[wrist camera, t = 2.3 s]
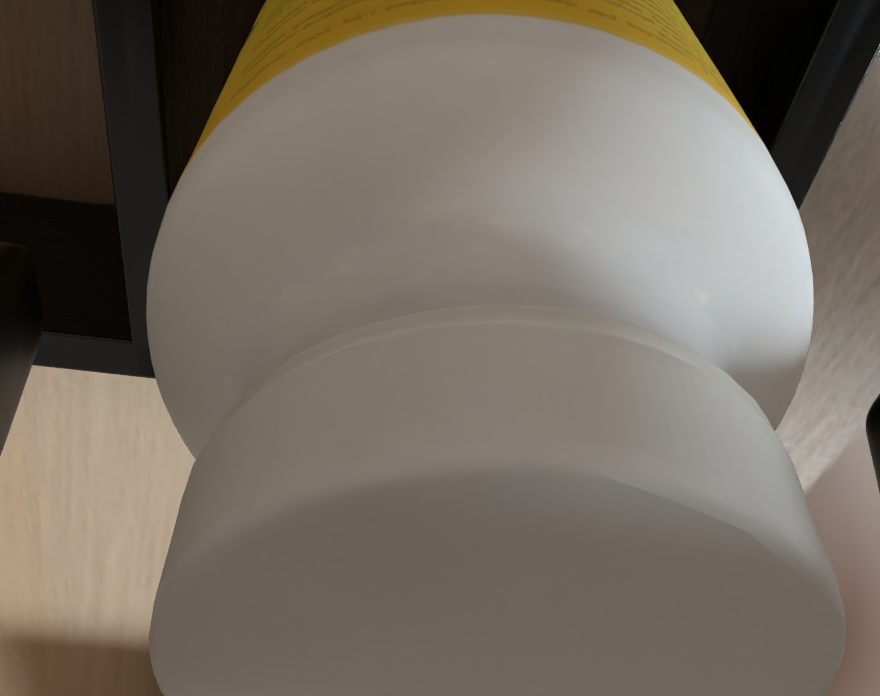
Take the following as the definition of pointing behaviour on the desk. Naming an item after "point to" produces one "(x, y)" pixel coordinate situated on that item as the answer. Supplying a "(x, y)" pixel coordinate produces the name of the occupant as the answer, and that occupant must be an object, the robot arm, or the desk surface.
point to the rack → (202, 80)
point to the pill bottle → (485, 366)
